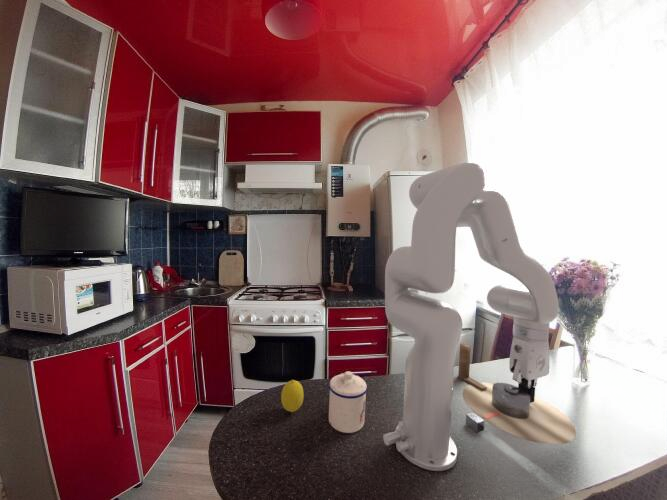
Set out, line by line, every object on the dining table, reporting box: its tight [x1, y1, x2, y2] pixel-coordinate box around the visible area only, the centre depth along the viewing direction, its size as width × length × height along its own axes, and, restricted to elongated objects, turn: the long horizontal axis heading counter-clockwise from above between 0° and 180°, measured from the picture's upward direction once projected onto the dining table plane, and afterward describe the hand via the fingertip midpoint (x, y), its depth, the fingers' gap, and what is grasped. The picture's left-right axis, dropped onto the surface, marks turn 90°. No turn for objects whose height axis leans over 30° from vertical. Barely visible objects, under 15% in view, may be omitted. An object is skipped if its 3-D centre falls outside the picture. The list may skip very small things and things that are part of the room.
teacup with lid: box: [328, 370, 368, 434], centre depth 62 cm, size 12×9×12 cm
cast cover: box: [492, 382, 530, 419], centre depth 65 cm, size 8×8×6 cm
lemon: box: [280, 379, 305, 413], centre depth 62 cm, size 6×6×8 cm
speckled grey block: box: [465, 411, 485, 434], centre depth 60 cm, size 2×3×2 cm
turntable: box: [457, 342, 577, 445], centre depth 67 cm, size 25×29×12 cm
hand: (525, 399), depth 68 cm, fingers closed
